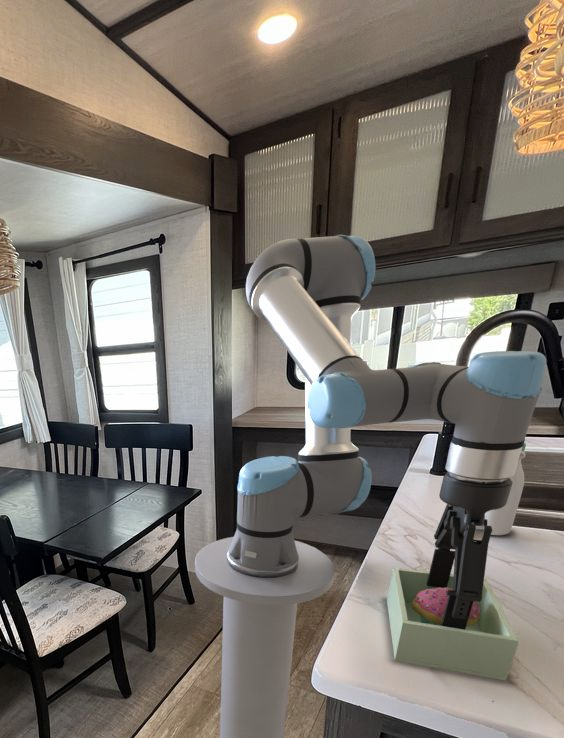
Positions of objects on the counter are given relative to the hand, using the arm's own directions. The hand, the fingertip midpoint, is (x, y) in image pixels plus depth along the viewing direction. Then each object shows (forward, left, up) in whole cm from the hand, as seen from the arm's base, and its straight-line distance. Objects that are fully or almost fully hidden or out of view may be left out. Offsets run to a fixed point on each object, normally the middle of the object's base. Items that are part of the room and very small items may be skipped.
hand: (443, 608), depth 71 cm
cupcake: (0, 0, -4) cm, 4 cm away
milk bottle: (-48, +16, -5) cm, 51 cm away
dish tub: (0, 0, -5) cm, 5 cm away
